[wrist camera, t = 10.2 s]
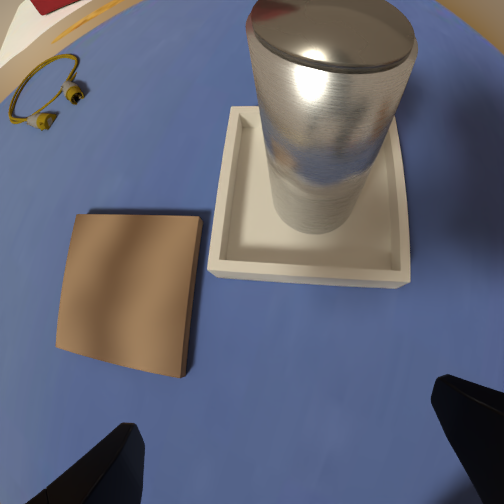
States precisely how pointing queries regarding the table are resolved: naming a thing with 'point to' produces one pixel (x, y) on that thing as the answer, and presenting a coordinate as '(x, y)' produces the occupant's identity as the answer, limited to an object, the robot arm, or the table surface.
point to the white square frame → (300, 244)
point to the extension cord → (70, 93)
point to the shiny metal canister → (326, 99)
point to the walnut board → (130, 290)
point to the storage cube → (50, 5)
